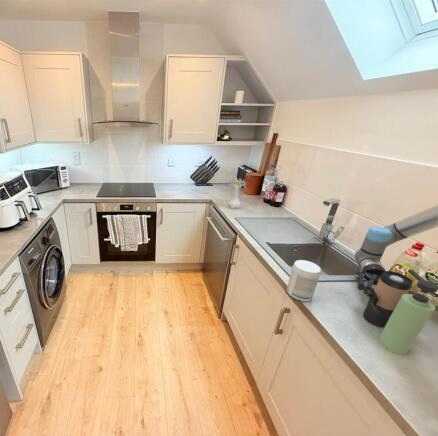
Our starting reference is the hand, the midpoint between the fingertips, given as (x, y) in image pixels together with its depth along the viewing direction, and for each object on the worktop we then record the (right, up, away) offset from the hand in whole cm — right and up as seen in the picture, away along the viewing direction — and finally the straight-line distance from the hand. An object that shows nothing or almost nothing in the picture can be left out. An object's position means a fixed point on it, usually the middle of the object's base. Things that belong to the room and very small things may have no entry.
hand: (391, 306), depth 81 cm
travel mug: (+2, -9, +8) cm, 12 cm away
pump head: (0, +9, -8) cm, 12 cm away
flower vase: (-11, +39, +118) cm, 125 cm away
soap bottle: (-1, -13, -1) cm, 13 cm away
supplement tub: (-18, -3, +21) cm, 28 cm away
